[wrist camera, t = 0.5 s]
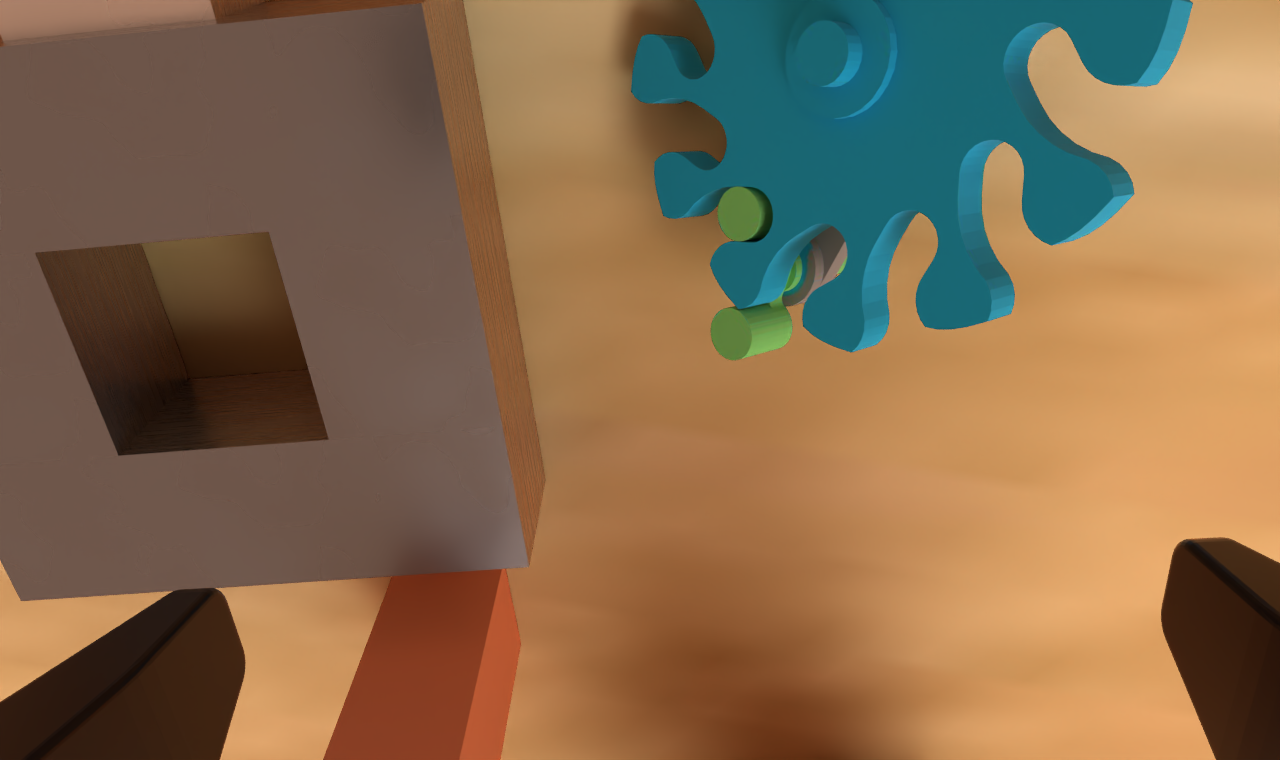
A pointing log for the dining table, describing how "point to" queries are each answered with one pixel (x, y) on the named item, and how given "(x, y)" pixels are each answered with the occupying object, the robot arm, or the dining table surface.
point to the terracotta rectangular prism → (434, 672)
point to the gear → (884, 148)
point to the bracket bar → (104, 14)
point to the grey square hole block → (315, 286)
